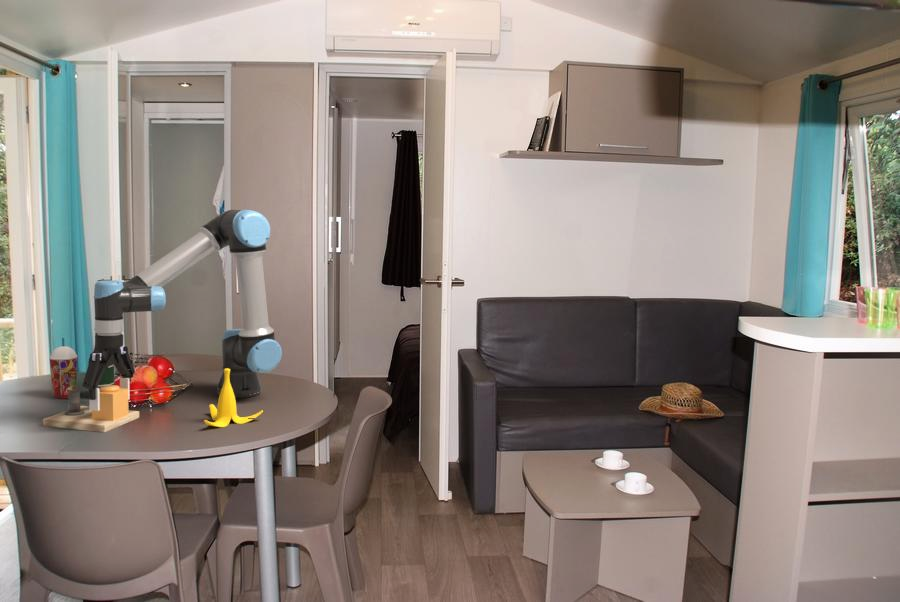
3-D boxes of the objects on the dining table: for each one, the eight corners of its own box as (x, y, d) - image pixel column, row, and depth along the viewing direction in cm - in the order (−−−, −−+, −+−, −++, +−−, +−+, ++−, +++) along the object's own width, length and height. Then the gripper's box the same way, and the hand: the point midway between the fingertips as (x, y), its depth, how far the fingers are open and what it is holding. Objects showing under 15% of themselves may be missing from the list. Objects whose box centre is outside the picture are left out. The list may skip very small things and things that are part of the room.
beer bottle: (90, 394, 243) (89, 325, 240) (115, 393, 246) (114, 324, 243) (87, 400, 236) (86, 328, 233) (113, 399, 239) (112, 328, 236)
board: (139, 417, 218) (139, 388, 217) (104, 432, 203) (104, 401, 202) (81, 411, 222) (81, 383, 221) (43, 425, 206) (42, 395, 205)
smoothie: (77, 399, 237) (75, 339, 235) (48, 400, 234) (47, 340, 231) (79, 393, 244) (78, 335, 242) (52, 394, 241) (50, 336, 239)
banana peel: (211, 414, 226) (211, 362, 224) (264, 421, 221) (265, 367, 219) (177, 428, 210) (177, 372, 208) (233, 435, 205) (234, 378, 203)
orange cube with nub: (128, 414, 214) (128, 385, 213) (113, 421, 207) (112, 390, 206) (107, 412, 215) (107, 383, 214) (91, 418, 208) (91, 388, 207)
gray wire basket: (89, 378, 267) (88, 352, 266) (105, 371, 279) (104, 346, 278) (159, 381, 266) (158, 355, 265) (172, 374, 278) (171, 349, 277)
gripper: (124, 326, 221) (125, 393, 224) (67, 339, 197) (68, 414, 199) (146, 328, 220) (147, 395, 222) (91, 341, 195) (92, 416, 198)
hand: (110, 404), depth 211 cm, fingers open, 13 cm apart
